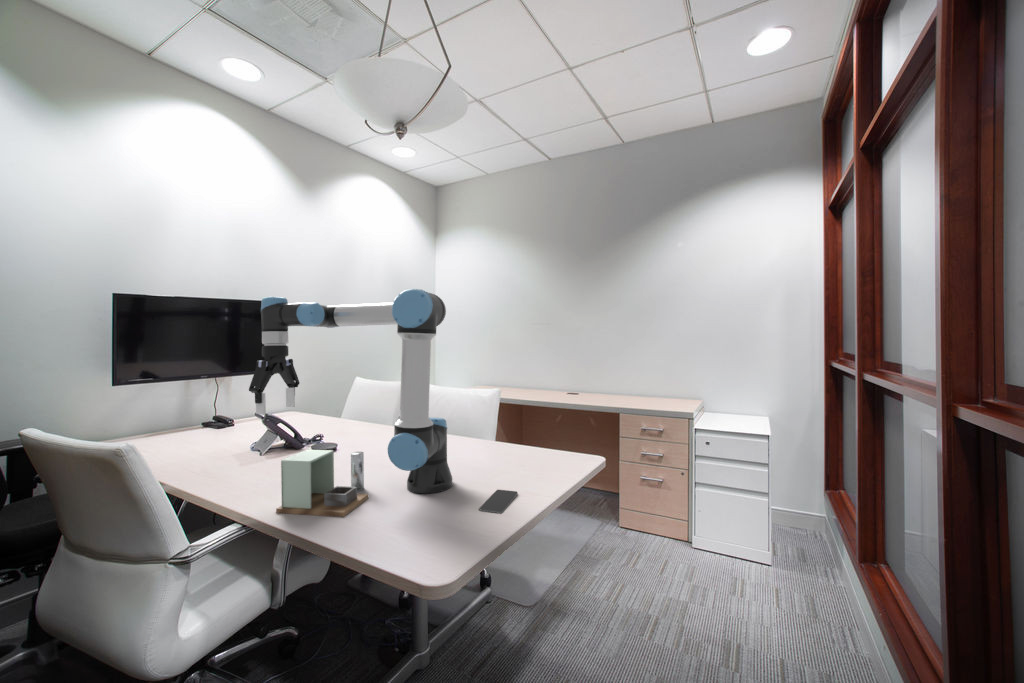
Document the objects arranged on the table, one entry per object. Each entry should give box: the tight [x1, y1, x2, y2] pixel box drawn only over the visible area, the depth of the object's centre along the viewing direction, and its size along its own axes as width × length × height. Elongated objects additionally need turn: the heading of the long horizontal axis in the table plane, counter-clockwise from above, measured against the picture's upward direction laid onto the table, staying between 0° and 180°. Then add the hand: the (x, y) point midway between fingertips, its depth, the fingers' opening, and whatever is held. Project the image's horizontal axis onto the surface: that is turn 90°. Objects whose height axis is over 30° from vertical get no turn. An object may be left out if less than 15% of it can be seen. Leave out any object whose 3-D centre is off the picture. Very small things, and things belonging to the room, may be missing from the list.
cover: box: [280, 449, 335, 509], centre depth 126 cm, size 9×12×14 cm
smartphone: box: [478, 489, 518, 515], centre depth 127 cm, size 7×1×16 cm
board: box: [275, 485, 369, 518], centre depth 125 cm, size 21×14×5 cm, turn 81°
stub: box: [350, 451, 365, 492], centre depth 139 cm, size 4×4×12 cm
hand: (276, 410), depth 136 cm, fingers open, 13 cm apart
